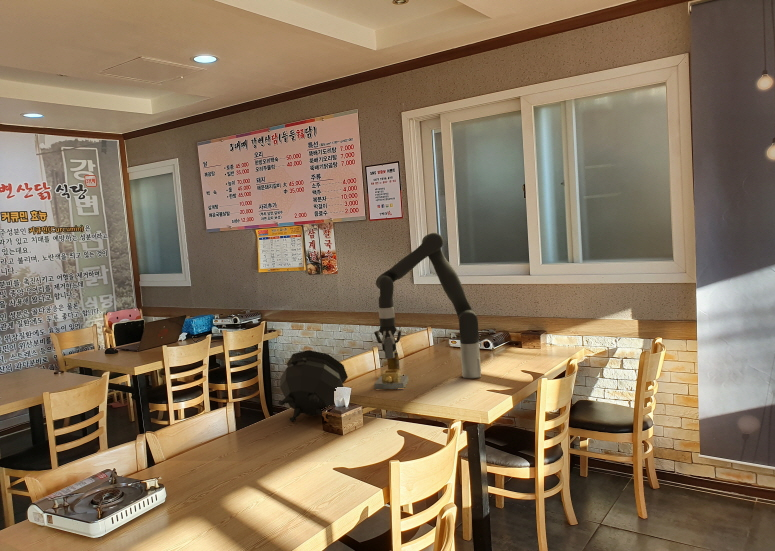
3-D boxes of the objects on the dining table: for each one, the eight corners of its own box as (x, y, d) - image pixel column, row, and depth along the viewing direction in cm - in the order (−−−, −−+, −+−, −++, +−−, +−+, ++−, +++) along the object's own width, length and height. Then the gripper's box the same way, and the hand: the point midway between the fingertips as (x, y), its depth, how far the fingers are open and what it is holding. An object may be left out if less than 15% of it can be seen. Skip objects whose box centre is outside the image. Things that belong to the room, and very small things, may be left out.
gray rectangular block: (394, 356, 287) (393, 336, 286) (393, 358, 284) (391, 338, 283) (386, 357, 288) (385, 337, 287) (385, 358, 285) (383, 338, 284)
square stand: (408, 381, 292) (407, 367, 292) (403, 389, 279) (402, 374, 278) (381, 381, 295) (380, 368, 294) (375, 389, 281) (373, 375, 281)
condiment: (395, 372, 311) (393, 350, 310) (405, 375, 305) (404, 352, 304) (384, 375, 307) (382, 353, 306) (395, 378, 300) (393, 355, 299)
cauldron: (259, 413, 241) (275, 367, 259) (319, 439, 249) (330, 392, 267) (288, 383, 224) (302, 335, 241) (351, 411, 232) (360, 363, 250)
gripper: (402, 314, 286) (405, 349, 288) (374, 315, 289) (376, 350, 290) (399, 317, 279) (402, 352, 280) (370, 318, 282) (373, 353, 283)
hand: (389, 351), depth 285 cm, fingers closed on gray rectangular block, 4 cm apart
